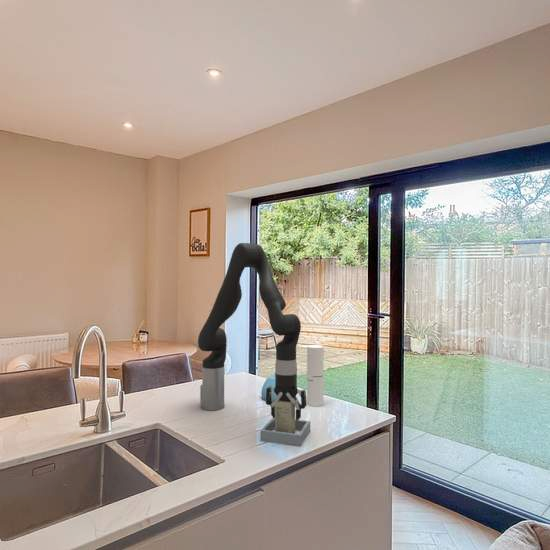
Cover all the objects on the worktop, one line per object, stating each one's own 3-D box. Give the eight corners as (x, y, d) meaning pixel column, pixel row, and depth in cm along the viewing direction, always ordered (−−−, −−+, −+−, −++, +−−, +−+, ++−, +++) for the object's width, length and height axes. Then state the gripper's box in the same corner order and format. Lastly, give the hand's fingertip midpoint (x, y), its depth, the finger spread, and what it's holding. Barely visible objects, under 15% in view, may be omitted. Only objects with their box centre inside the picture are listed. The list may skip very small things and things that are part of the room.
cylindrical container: (322, 406, 175) (322, 348, 175) (306, 405, 176) (306, 347, 176) (324, 401, 182) (324, 345, 182) (308, 400, 183) (308, 344, 183)
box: (260, 440, 139) (260, 430, 139) (273, 426, 152) (273, 416, 152) (300, 446, 134) (300, 435, 134) (310, 430, 148) (310, 421, 148)
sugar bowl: (255, 401, 183) (255, 375, 183) (269, 392, 197) (269, 367, 197) (287, 405, 177) (287, 378, 177) (298, 395, 191) (298, 370, 191)
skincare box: (295, 434, 144) (295, 399, 144) (291, 439, 140) (291, 403, 140) (278, 432, 147) (279, 397, 147) (274, 436, 143) (274, 400, 143)
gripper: (263, 372, 142) (263, 419, 142) (303, 375, 138) (303, 424, 138) (270, 368, 149) (270, 412, 149) (308, 370, 145) (308, 417, 145)
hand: (286, 418), depth 143 cm, fingers open, 8 cm apart
